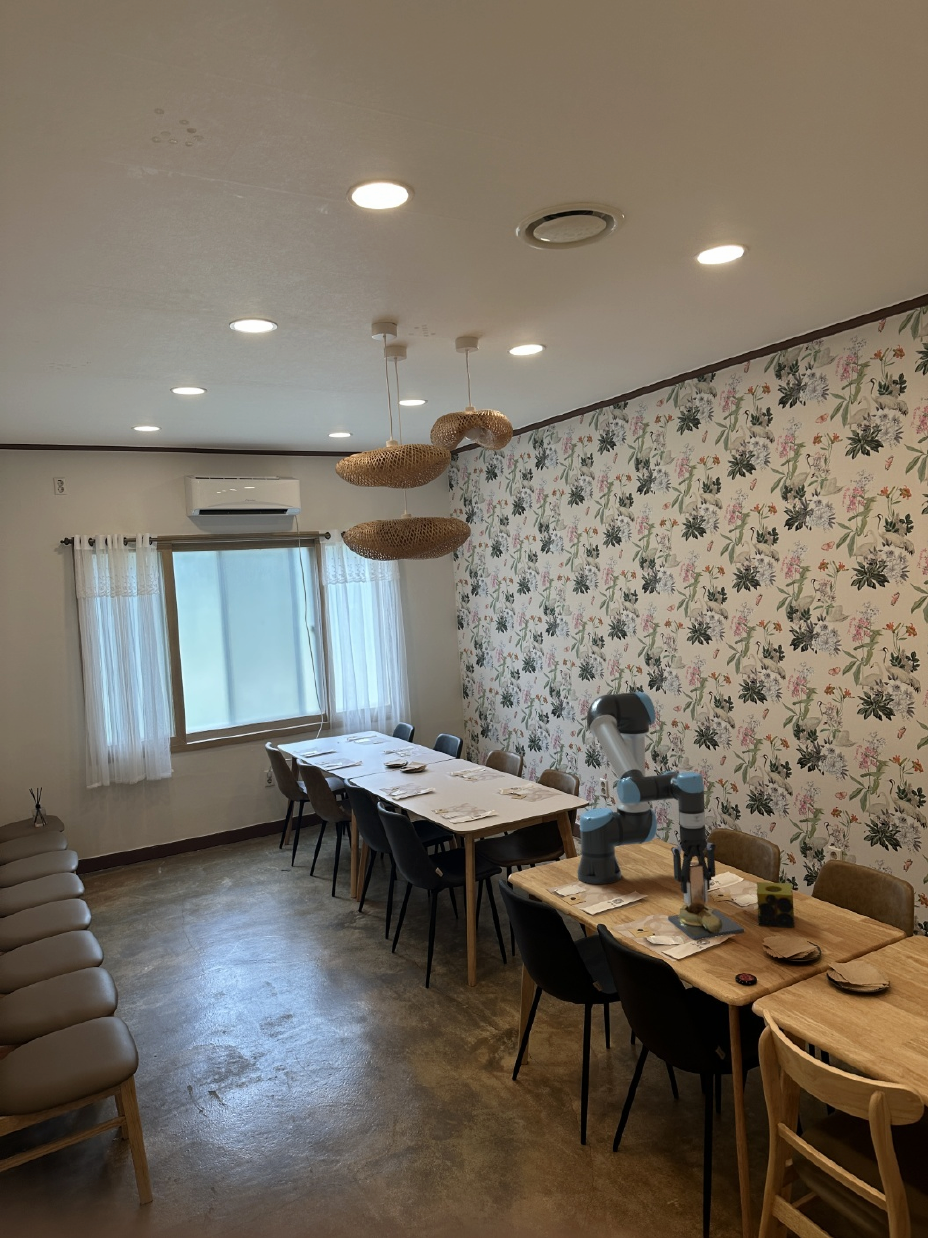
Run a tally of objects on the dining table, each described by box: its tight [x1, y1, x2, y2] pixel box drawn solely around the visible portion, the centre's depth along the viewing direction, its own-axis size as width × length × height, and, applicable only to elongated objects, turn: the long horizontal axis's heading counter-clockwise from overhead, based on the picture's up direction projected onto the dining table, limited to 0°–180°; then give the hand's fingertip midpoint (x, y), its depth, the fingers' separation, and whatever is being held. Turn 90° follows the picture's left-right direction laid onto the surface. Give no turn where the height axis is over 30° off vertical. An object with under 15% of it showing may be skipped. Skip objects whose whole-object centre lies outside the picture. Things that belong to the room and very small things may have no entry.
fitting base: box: [667, 904, 745, 941], centre depth 251 cm, size 16×16×5 cm
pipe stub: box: [687, 861, 706, 914], centre depth 253 cm, size 5×5×14 cm
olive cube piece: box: [756, 881, 795, 929], centre depth 251 cm, size 10×10×10 cm
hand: (696, 902), depth 253 cm, fingers closed on pipe stub, 5 cm apart
